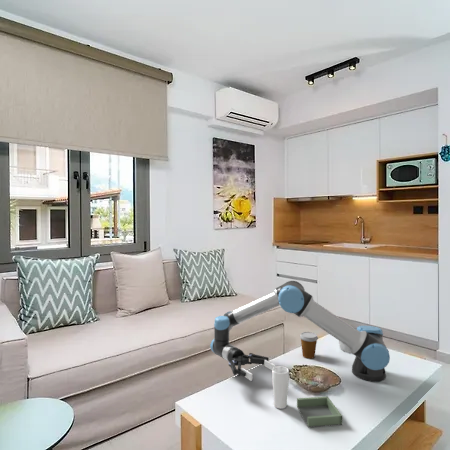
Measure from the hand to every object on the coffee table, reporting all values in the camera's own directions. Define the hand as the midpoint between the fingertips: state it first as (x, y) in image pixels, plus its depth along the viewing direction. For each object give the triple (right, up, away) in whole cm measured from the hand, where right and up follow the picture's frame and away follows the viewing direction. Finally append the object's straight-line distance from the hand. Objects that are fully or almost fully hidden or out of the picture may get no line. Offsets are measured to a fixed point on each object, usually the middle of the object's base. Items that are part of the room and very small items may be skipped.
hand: (263, 372), depth 143 cm
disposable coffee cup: (+29, -8, +38) cm, 49 cm away
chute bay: (+20, -10, -14) cm, 26 cm away
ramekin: (+55, -8, +47) cm, 73 cm away
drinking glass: (+6, -10, -7) cm, 14 cm away
